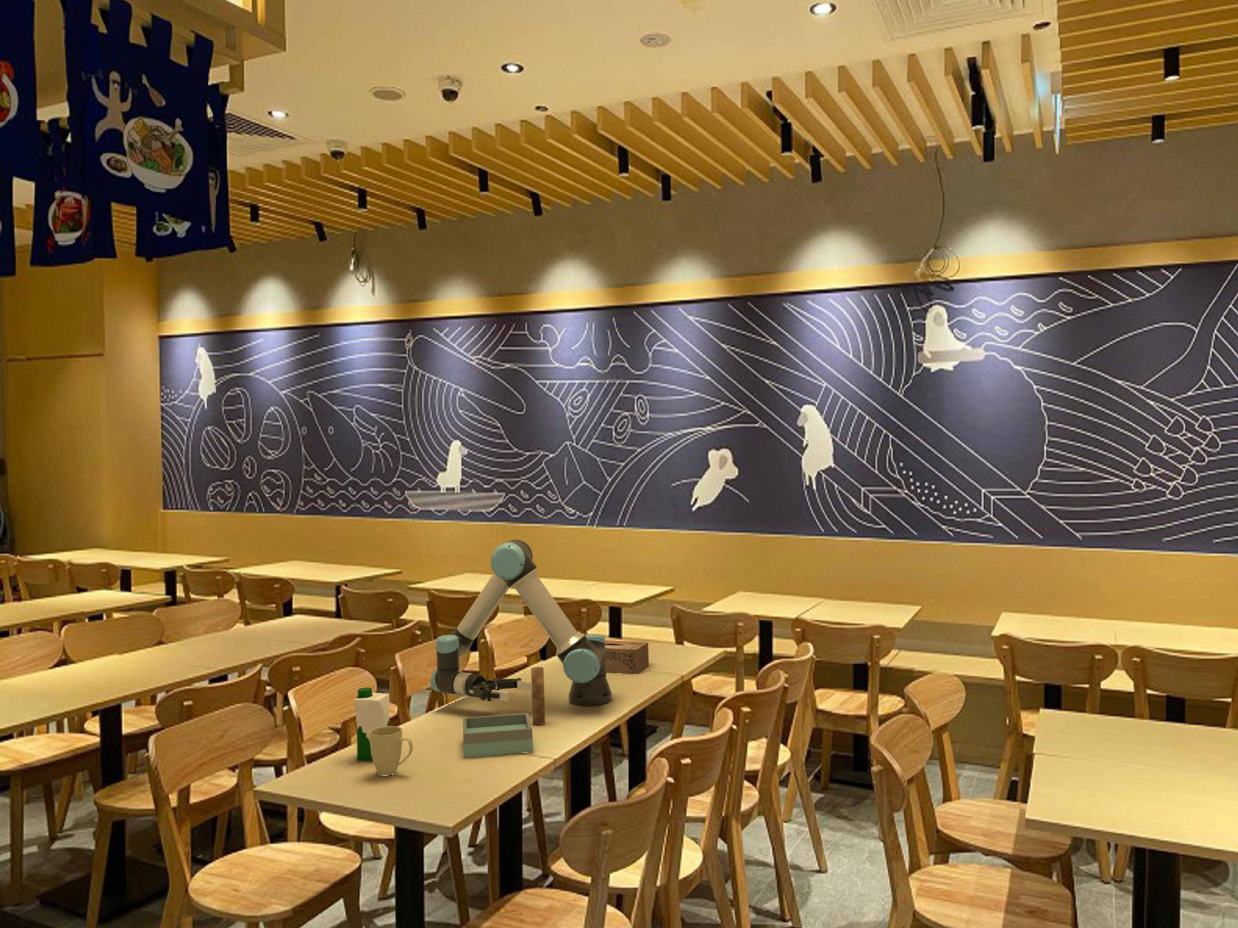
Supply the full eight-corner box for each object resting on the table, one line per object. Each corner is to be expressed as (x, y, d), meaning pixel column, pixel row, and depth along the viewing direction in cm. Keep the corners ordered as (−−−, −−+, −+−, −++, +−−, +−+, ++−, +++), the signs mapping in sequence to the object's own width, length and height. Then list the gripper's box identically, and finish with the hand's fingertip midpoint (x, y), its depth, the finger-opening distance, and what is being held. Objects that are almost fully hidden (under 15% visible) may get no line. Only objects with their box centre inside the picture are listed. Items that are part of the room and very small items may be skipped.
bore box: (528, 735, 298) (528, 712, 298) (532, 752, 281) (532, 728, 281) (463, 740, 295) (463, 717, 295) (463, 757, 278) (463, 733, 278)
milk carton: (366, 751, 286) (364, 685, 286) (394, 752, 285) (392, 685, 284) (352, 761, 278) (350, 692, 277) (381, 762, 276) (379, 693, 276)
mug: (373, 782, 260) (372, 738, 259) (368, 771, 269) (366, 728, 268) (414, 775, 264) (412, 732, 264) (407, 765, 273) (405, 723, 273)
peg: (544, 721, 312) (543, 666, 312) (545, 725, 308) (544, 669, 308) (532, 722, 312) (530, 667, 311) (533, 726, 308) (531, 670, 307)
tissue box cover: (575, 671, 381) (575, 646, 381) (589, 663, 395) (588, 639, 395) (637, 675, 372) (636, 649, 372) (648, 666, 386) (648, 642, 386)
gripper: (494, 687, 334) (543, 693, 323) (446, 705, 313) (497, 712, 302) (493, 665, 334) (543, 671, 323) (445, 682, 313) (497, 689, 302)
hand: (521, 691), depth 313 cm, fingers open, 13 cm apart
